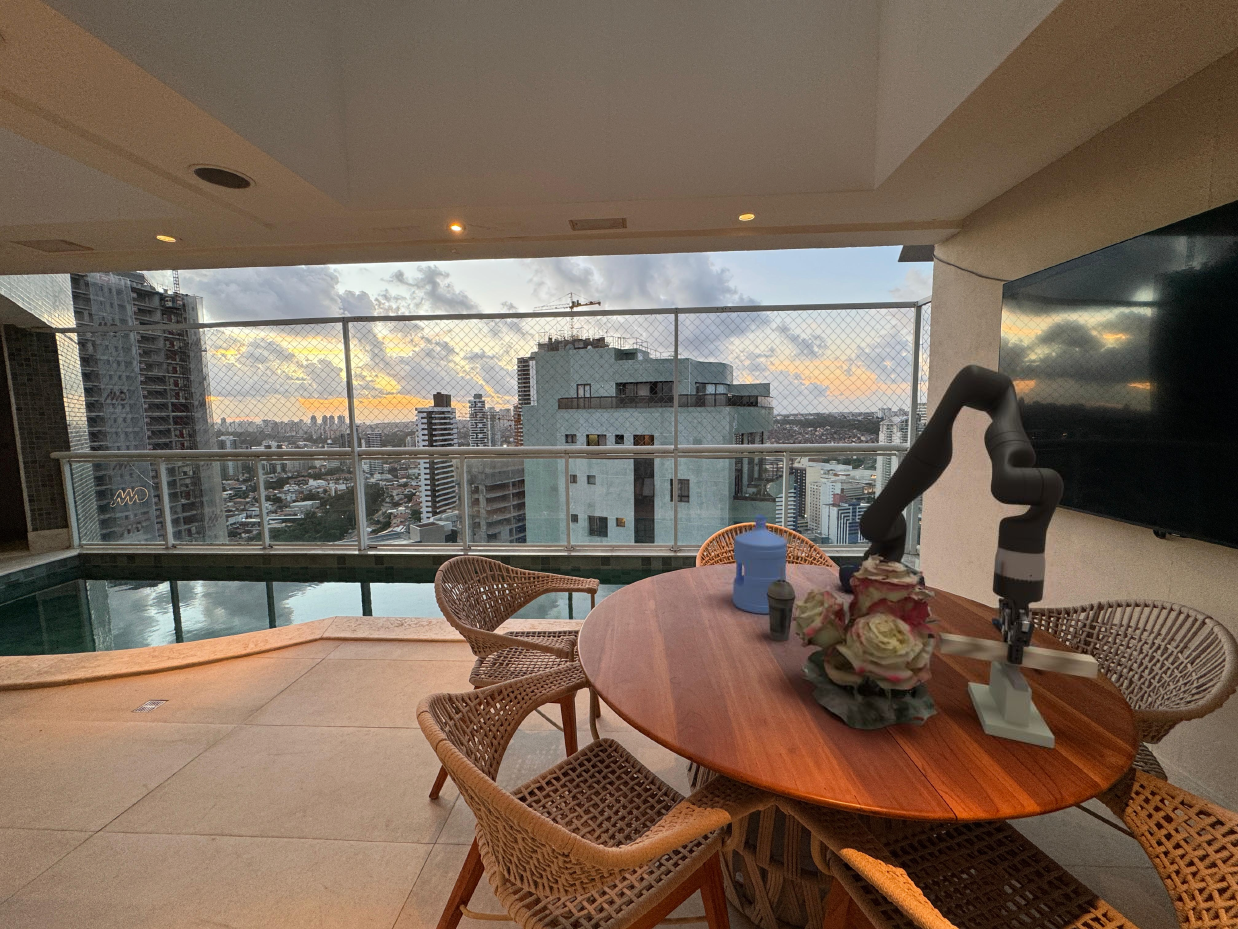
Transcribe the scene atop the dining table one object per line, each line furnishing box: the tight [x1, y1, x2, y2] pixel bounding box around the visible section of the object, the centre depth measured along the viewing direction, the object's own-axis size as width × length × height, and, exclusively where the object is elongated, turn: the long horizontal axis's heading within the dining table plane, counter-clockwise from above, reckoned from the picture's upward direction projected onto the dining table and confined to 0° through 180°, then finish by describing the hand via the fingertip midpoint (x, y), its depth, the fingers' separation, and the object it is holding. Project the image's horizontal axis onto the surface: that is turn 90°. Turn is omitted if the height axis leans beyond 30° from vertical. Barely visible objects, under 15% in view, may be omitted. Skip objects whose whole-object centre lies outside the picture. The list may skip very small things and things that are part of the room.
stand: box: [967, 661, 1056, 749], centre depth 98 cm, size 16×10×10 cm, turn 155°
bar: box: [938, 632, 1099, 680], centre depth 98 cm, size 24×3×3 cm, turn 65°
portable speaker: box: [838, 560, 926, 592], centre depth 164 cm, size 25×10×10 cm, turn 53°
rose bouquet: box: [791, 554, 943, 731], centre depth 104 cm, size 26×29×30 cm
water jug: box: [732, 514, 788, 615], centre depth 155 cm, size 16×16×28 cm
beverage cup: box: [767, 565, 796, 642], centre depth 133 cm, size 7×7×20 cm
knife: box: [991, 617, 1037, 647], centre depth 129 cm, size 31×3×4 cm, turn 158°
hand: (1011, 658), depth 98 cm, fingers closed on bar, 3 cm apart
